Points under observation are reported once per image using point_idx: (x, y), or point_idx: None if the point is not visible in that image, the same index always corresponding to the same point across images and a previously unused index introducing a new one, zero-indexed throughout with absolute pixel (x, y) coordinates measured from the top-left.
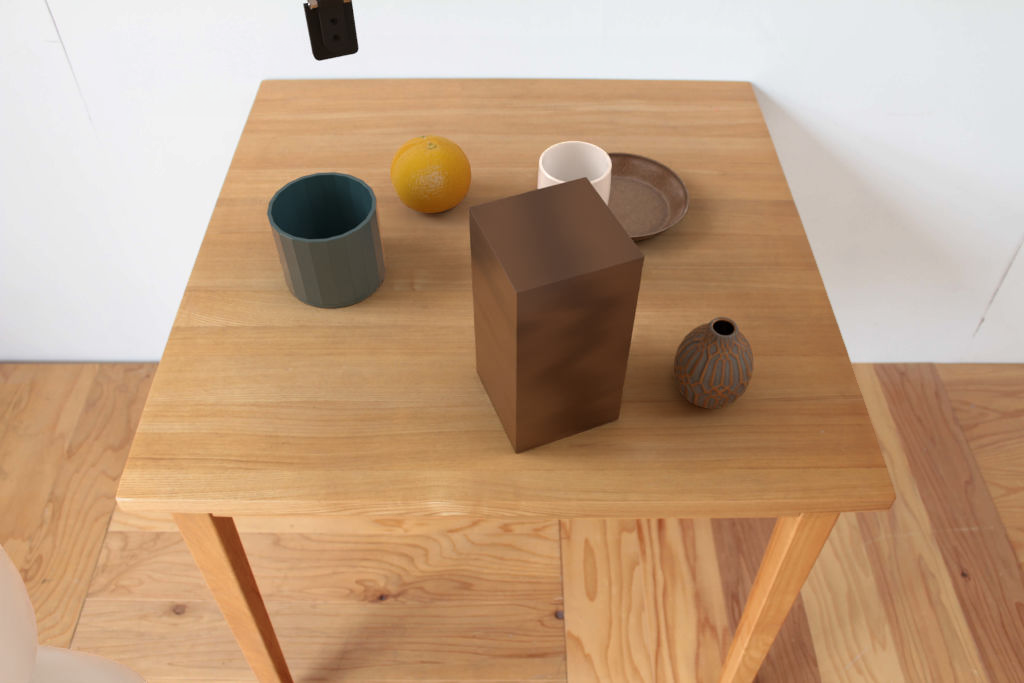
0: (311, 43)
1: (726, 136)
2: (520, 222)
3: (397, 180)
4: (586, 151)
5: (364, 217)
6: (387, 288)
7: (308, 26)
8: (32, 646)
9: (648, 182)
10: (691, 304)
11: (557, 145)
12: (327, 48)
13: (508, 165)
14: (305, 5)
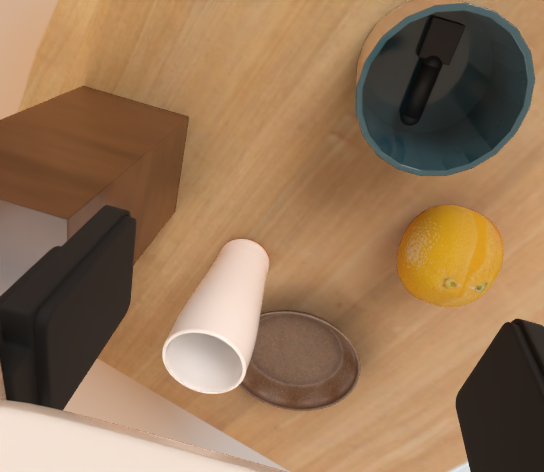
0: (86, 227)
1: (314, 461)
2: (12, 248)
3: (457, 218)
4: (227, 382)
5: (438, 146)
6: (354, 108)
7: (48, 259)
8: None
9: (304, 387)
10: (162, 310)
11: (242, 370)
12: (57, 248)
13: (429, 325)
14: (9, 313)
